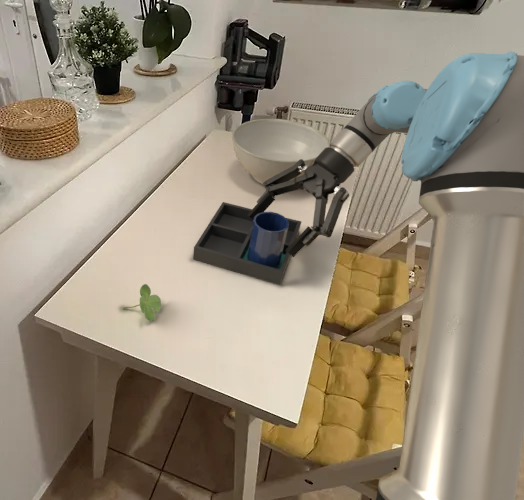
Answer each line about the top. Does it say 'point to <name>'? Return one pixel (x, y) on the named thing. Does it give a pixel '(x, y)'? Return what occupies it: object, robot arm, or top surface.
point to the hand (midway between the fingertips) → (269, 235)
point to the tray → (239, 244)
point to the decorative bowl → (276, 146)
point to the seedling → (148, 303)
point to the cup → (267, 239)
